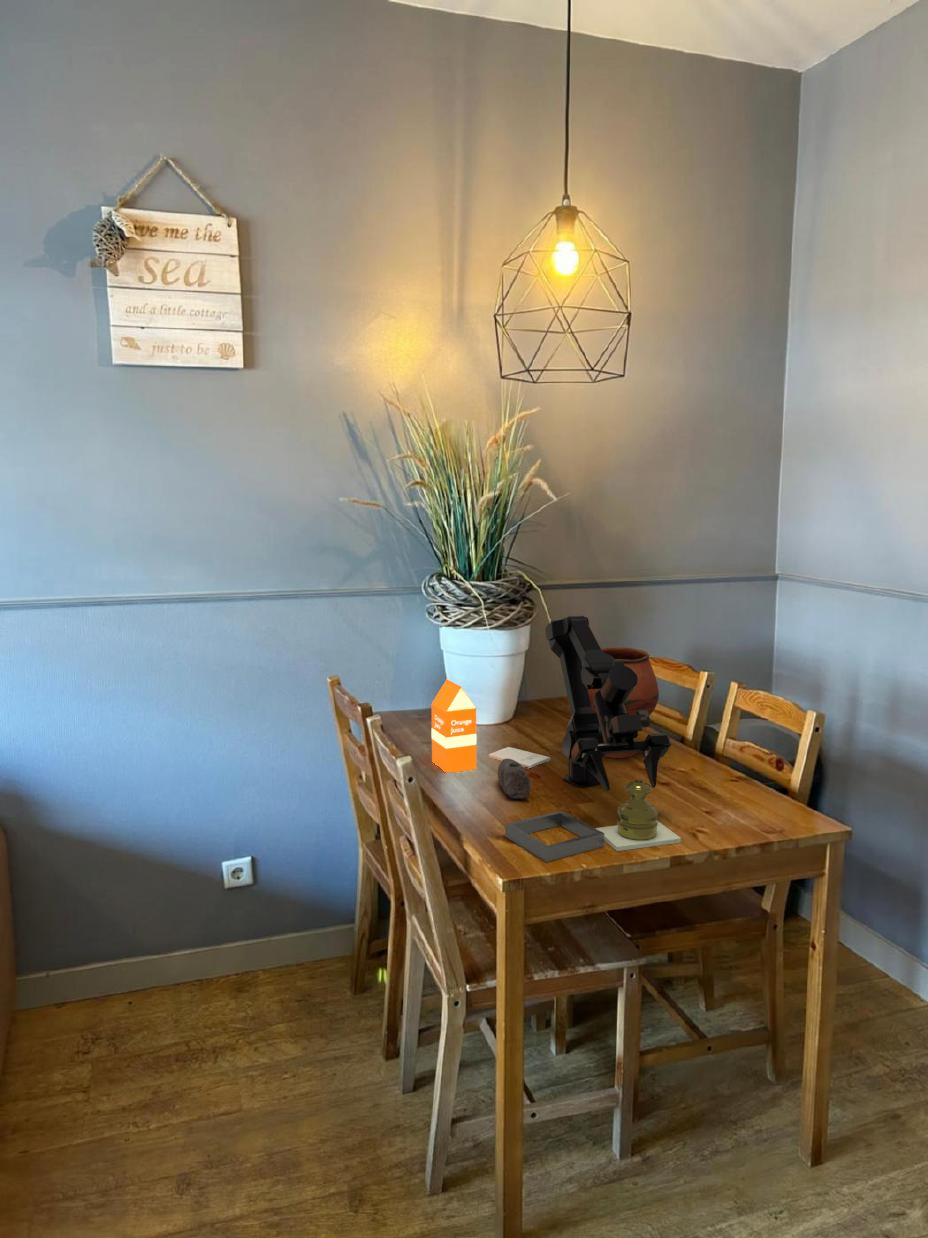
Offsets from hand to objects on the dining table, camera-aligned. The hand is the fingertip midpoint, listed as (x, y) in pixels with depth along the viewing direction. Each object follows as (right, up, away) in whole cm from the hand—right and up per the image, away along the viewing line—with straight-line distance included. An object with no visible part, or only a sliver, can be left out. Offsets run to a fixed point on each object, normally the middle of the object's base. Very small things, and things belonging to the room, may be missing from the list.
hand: (631, 788), depth 167 cm
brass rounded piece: (+1, -8, -2) cm, 8 cm away
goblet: (+6, -1, +49) cm, 49 cm away
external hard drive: (-18, -2, +44) cm, 48 cm away
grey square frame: (-15, -9, -4) cm, 18 cm away
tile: (+1, -9, -2) cm, 9 cm away
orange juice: (-34, -2, +39) cm, 52 cm away
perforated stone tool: (-21, -5, +22) cm, 31 cm away
